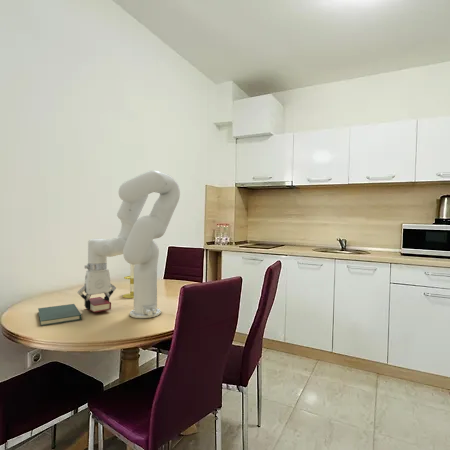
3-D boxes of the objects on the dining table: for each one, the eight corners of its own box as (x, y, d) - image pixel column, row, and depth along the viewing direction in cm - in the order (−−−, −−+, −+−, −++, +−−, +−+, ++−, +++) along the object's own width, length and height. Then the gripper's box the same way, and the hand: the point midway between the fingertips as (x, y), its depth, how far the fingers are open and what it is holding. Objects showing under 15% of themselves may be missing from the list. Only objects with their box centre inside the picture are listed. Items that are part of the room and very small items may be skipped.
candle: (118, 296, 167) (118, 244, 166) (133, 292, 175) (133, 243, 174) (131, 299, 161) (131, 245, 161) (146, 295, 169) (146, 244, 169)
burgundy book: (111, 309, 138) (111, 302, 138) (94, 312, 133) (94, 305, 133) (100, 303, 148) (100, 296, 148) (84, 305, 143) (84, 299, 143)
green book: (81, 319, 128) (81, 314, 128) (40, 326, 120) (40, 320, 120) (74, 308, 145) (74, 303, 145) (38, 313, 137) (38, 308, 137)
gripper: (78, 270, 132) (79, 313, 132) (120, 266, 143) (120, 306, 143) (73, 267, 137) (73, 309, 138) (113, 264, 149) (113, 302, 149)
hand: (97, 307), depth 141 cm, fingers closed on burgundy book, 7 cm apart
